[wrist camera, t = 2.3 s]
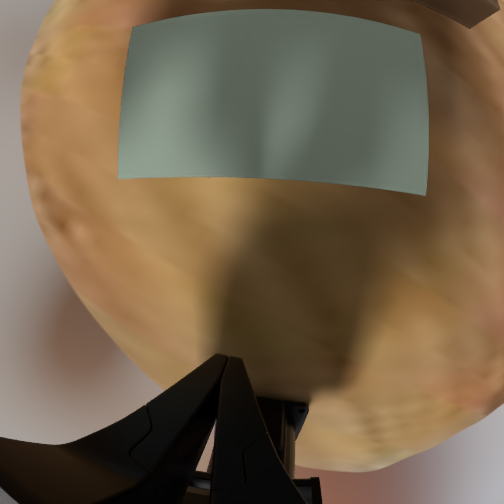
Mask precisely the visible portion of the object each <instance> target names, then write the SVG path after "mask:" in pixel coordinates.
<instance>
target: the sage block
mask: <svg viewBox="0 0 504 504" xmlns="http://www.w3.org/2000/svg"><path fill="white" fill-rule="evenodd" d="M428 159H429V109H428V91H427V80H426V70H425V62H424V54H423V48H422V42H421V36H420V34H418V33H415V32H412V31H408V30H405V29H402V28H398V27H395V26H391V25H387V24H384V23H379V22H375V21H371V20H366V19H361V18H356V17H351V16H345V15H339V14H332V13H324V12H315V11H304V10H287V9H244V10H227V11H216V12H207V13H199V14H192V15H186V16H180V17H174V18H169V19H164V20H160V21H155V22H151V23H147V24H143V25H139V26H135V27H133V28H132V32H131V38H130V43H129V48H128V54H127V60H126V67H125V74H124V82H123V91H122V101H121V112H120V127H119V150H118V179H129V178H155V177H237V178H263V179H282V180H297V181H310V182H322V183H333V184H343V185H352V186H361V187H369V188H377V189H384V190H391V191H398V192H405V193H411V194H418V195H424V196H426V189H427V177H428Z"/></svg>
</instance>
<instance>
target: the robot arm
mask: <svg viewBox="0 0 504 504" xmlns="http://www.w3.org/2000/svg"><path fill="white" fill-rule="evenodd" d="M308 412H309V406H308V404H306V403H301V402H291V401H282V400H274V399H267V398H260V397H255V395H254V392H253V389H252V386H251V383H250V380H249V377H248V374H247V371H246V368H245V366H244V363H243V360H242V359H241V358H238V357H233V356H230V357H228V356H227V355H222V354H215V355H213V356H212V357H211V358H209V359H208V360H207V361H205V362H204V363H203V364H201V365H200V366H199V367H197V368H196V369H195V370H193V371H192V372H191V373H189V374H188V375H186V376H185V377H184V378H182V379H181V380H180V381H178V382H177V383H175V384H174V385H173V386H171V387H170V388H168V389H167V390H165V391H164V392H163V393H161V394H160V395H158V396H157V397H156V398H154V399H153V400H151V401H150V402H148V403H147V404H146V405H144V406H142V407H141V408H139V409H138V410H136V411H135V412H133V413H131V414H130V415H128V416H127V417H125V418H123V419H121V420H120V421H118V422H115V423H113V424H112V425H110V426H108V427H106V428H103V429H101V430H99V431H97V432H94V433H92V434H90V435H88V436H85V437H83V438H81V439H78V440H76V441H73V442H70V443H66V444H60V445H49V444H40V443H32V442H25V441H19V440H13V439H8V438H3V437H0V504H322V496H321V488H320V480H319V477H311V478H310V479H294V471H295V441H296V439H297V437H298V435H299V432H300V430H301V428H302V426H303V424H304V421H305V419H306V417H307V414H308ZM214 424H215V433H214V447H213V450H212V454H211V458H210V461H209V465H208V469H207V472H202V471H196V467H197V465H198V463H199V460H200V458H201V455H202V453H203V451H204V448H205V446H206V444H207V441H208V439H209V436H210V434H211V431H212V429H213V427H214Z"/></svg>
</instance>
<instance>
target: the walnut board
mask: <svg viewBox="0 0 504 504" xmlns="http://www.w3.org/2000/svg"><path fill="white" fill-rule="evenodd" d="M412 1H415V2H417V3H420V4H422V5H424V6H427V7H429V8H431V9H433V10H435V11H437V12H439V13H441V14H443V15H445V16H447V17H449V18H451V19H453V20H455V21H457V22H459V23H460V24H462V25H464V26H466V27H468V28H469V29H470V28H472V27H473V26H475V25H476V24H478V23H479V22H481V21H483V20H484V19H486V18H487V17H489V16H491V15H492V14H494V13H495V12H497V11H499V10H500V7H499V4H498V1H497V0H412Z"/></svg>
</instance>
